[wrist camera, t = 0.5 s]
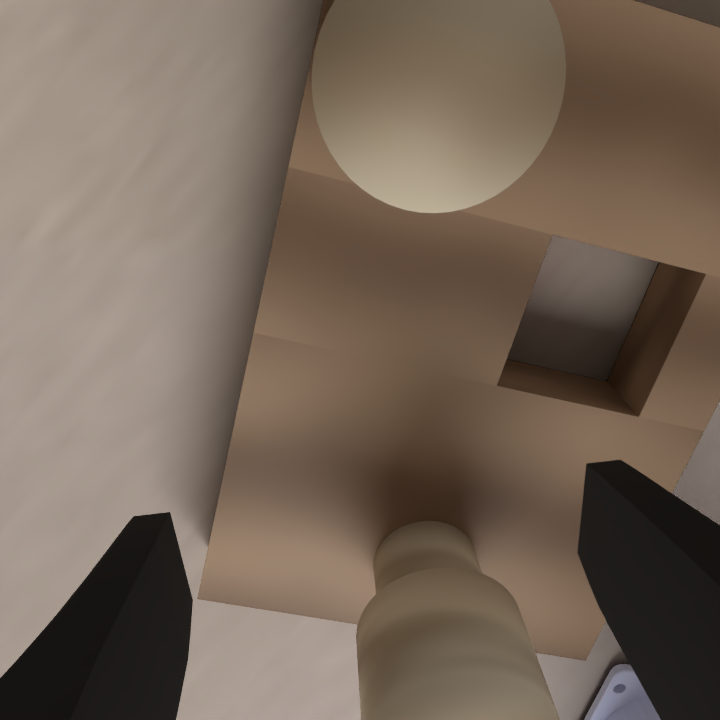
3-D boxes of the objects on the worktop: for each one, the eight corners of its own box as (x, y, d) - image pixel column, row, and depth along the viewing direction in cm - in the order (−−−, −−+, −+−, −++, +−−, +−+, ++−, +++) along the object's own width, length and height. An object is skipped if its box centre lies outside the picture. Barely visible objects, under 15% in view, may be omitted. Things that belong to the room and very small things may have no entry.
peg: (470, 628, 23) (521, 819, 17) (336, 607, 23) (341, 798, 17) (517, 517, 22) (591, 687, 16) (373, 490, 21) (393, 657, 15)
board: (562, 609, 27) (632, 765, 21) (209, 549, 25) (172, 703, 19) (817, 78, 19) (1041, 83, 13) (339, -71, 17) (349, -146, 11)
